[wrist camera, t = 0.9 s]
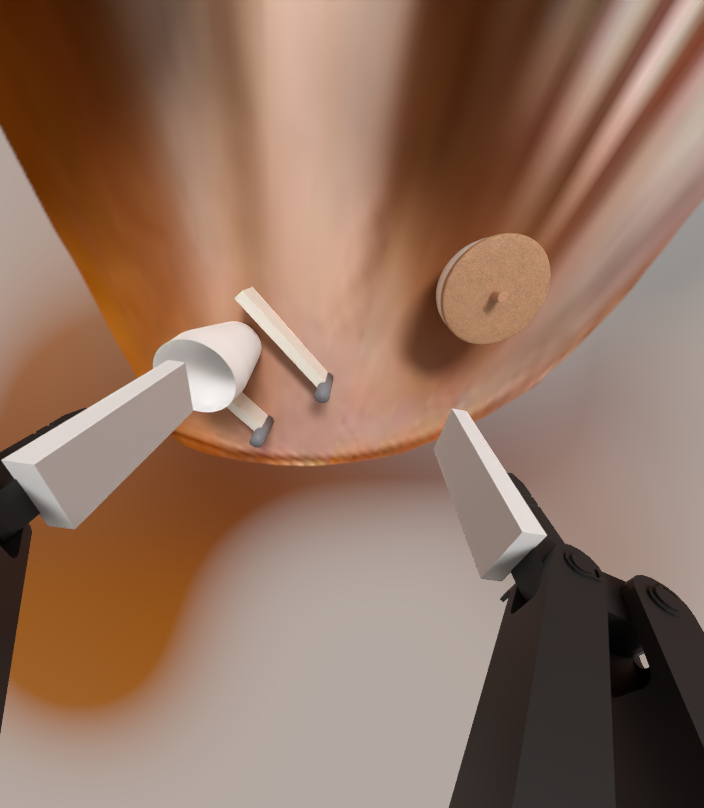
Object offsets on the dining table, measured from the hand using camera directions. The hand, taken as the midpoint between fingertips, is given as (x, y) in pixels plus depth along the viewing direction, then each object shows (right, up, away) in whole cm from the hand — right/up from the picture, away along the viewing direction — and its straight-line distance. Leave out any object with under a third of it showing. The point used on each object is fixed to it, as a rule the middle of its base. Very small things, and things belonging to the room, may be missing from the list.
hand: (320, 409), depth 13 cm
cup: (-15, +9, +25) cm, 31 cm away
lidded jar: (+17, +16, +21) cm, 31 cm away
